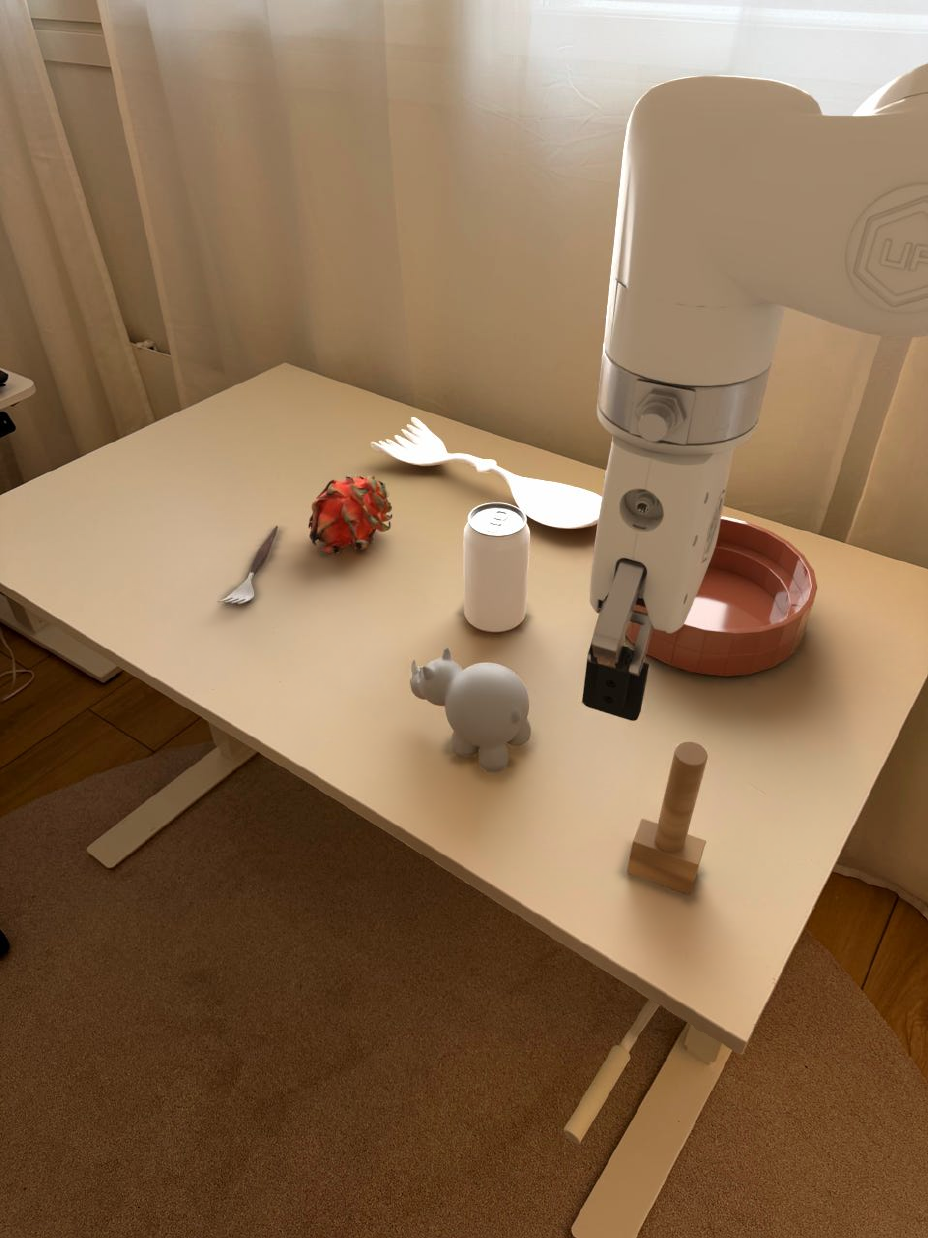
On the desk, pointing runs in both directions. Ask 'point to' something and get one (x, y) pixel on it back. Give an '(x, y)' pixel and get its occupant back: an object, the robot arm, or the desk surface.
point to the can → (495, 567)
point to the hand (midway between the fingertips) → (635, 655)
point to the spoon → (531, 495)
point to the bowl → (741, 606)
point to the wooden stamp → (673, 826)
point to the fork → (251, 574)
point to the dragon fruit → (349, 513)
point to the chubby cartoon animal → (477, 706)
